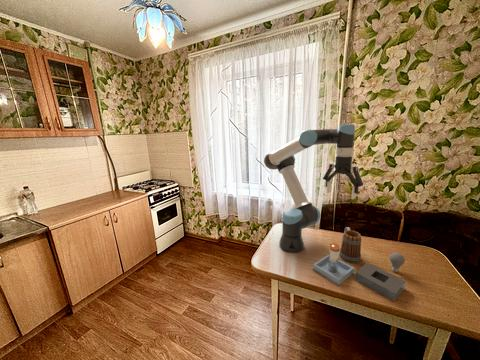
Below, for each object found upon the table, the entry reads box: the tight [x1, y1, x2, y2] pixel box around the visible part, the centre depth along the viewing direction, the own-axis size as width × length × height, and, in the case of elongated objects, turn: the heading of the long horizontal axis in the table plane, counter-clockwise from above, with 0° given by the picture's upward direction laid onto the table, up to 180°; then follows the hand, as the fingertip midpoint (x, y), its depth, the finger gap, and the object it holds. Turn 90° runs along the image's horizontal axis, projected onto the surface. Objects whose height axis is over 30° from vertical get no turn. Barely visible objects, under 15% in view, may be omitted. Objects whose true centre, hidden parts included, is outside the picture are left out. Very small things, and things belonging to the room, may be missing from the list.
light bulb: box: [389, 252, 406, 273], centre depth 99 cm, size 6×6×10 cm
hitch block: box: [354, 262, 407, 302], centre depth 92 cm, size 16×12×4 cm
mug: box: [339, 226, 362, 264], centre depth 113 cm, size 16×11×15 cm
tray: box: [312, 254, 355, 286], centre depth 101 cm, size 14×14×3 cm
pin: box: [328, 242, 341, 273], centre depth 100 cm, size 4×4×14 cm
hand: (340, 195), depth 105 cm, fingers open, 13 cm apart
